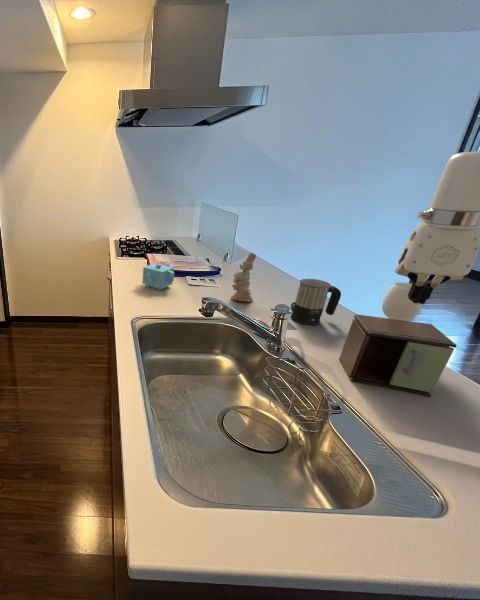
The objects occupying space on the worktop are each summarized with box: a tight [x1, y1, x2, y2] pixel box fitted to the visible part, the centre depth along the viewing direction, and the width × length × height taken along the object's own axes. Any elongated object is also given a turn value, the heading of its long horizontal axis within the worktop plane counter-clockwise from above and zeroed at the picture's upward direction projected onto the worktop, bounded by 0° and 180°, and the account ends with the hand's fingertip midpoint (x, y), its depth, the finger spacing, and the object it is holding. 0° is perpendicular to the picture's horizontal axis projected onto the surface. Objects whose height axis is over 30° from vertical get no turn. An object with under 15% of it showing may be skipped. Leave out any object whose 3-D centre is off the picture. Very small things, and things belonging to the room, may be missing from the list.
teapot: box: [141, 262, 176, 291], centre depth 151 cm, size 16×18×11 cm
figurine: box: [230, 252, 257, 303], centre depth 133 cm, size 9×8×20 cm
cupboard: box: [338, 313, 457, 398], centre depth 84 cm, size 16×11×15 cm
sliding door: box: [390, 341, 455, 394], centre depth 77 cm, size 8×4×13 cm, turn 66°
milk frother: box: [289, 278, 342, 326], centre depth 119 cm, size 14×16×15 cm
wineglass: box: [381, 281, 424, 321], centre depth 95 cm, size 9×9×21 cm
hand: (416, 301), depth 71 cm, fingers closed
